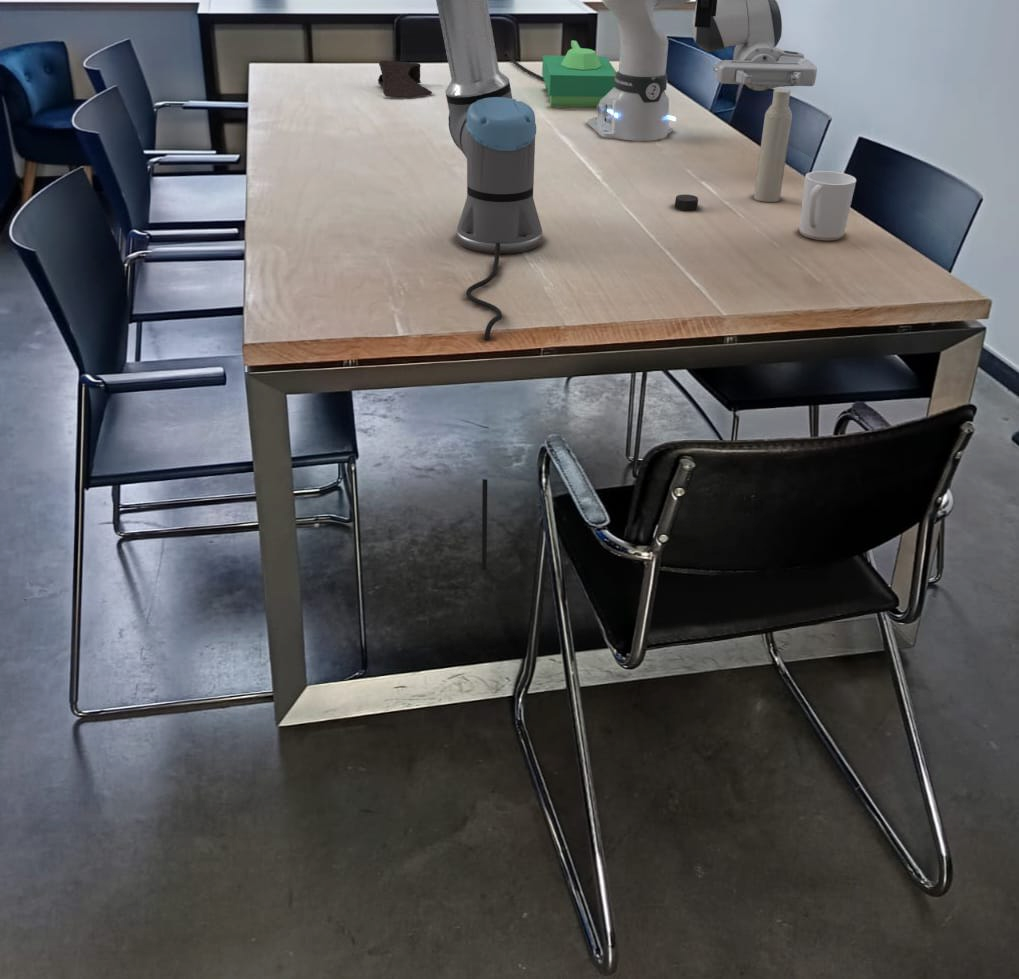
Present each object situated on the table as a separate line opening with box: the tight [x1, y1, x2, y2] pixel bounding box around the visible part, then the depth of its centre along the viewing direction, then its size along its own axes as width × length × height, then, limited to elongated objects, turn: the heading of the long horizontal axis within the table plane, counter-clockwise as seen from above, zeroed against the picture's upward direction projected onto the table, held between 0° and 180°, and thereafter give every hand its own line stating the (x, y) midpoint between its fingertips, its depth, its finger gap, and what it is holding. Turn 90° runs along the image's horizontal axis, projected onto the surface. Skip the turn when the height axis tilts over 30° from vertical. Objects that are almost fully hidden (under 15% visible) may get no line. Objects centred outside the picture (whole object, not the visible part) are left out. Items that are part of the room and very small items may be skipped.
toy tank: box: [541, 40, 617, 108], centre depth 296 cm, size 18×12×35 cm
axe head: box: [377, 59, 433, 99], centre depth 299 cm, size 18×8×15 cm
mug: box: [798, 170, 857, 241], centre depth 199 cm, size 11×9×10 cm
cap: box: [674, 194, 699, 212], centre depth 214 cm, size 4×4×2 cm
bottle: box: [753, 88, 793, 203], centre depth 216 cm, size 5×5×21 cm
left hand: (705, 21), depth 197 cm, fingers open, 13 cm apart
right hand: (771, 80), depth 221 cm, fingers open, 8 cm apart
